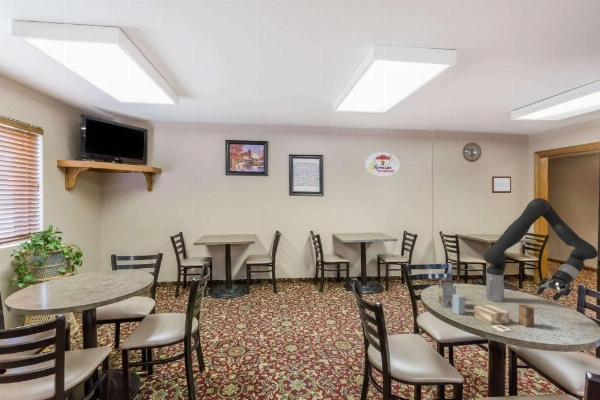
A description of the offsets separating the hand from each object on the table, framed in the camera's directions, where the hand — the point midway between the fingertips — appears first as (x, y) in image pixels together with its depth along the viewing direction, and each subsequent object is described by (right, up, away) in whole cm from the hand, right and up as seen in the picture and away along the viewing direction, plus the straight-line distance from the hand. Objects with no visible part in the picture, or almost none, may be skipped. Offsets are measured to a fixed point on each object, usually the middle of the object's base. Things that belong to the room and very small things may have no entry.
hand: (545, 296), depth 149 cm
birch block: (-26, -15, +5) cm, 30 cm away
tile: (-28, -15, -6) cm, 32 cm away
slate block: (-39, -14, +14) cm, 44 cm away
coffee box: (-40, -14, +26) cm, 50 cm away
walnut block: (-12, -15, -1) cm, 19 cm away
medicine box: (-31, -15, +39) cm, 52 cm away
